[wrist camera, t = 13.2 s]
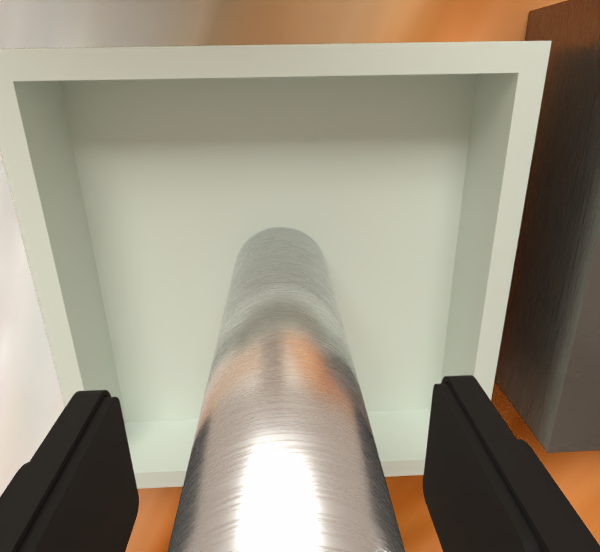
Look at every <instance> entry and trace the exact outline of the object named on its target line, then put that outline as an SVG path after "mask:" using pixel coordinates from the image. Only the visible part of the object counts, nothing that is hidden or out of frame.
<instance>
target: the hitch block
mask: <svg viewBox="0 0 600 552" xmlns="http://www.w3.org/2000/svg"><path fill="white" fill-rule="evenodd" d="M525 41H552V42H551V48H550V54H549V60H548V66H547V72H546V78H545V83H544V89H543V95H542V101H541V107H540V113H539V119H538V125H537V131H536V137H535V143H534V149H533V155H532V161H531V166H530V172H529V178H528V184H527V190H526V196H525V202H524V208H523V214H522V220H521V226H520V232H519V238H518V243H517V249H516V255H515V261H514V267H513V273H512V279H511V285H510V291H509V297H508V303H507V309H506V315H505V321H504V326H503V332H502V338H501V344H500V350H499V356H498V362H497V368H496V374H495V380H494V381H495V382H496V383H497V385H498V386H499V387H500V389H501V390H502V392H503V393H504V394H505V396H506V397H507V398H508V400H509V401H510V402H511V404H512V405H513V407H514V408H515V409H516V411H517V412H518V413H519V415H520V416H521V417H522V419H523V420H524V422H525V423H526V424H527V426H528V427H529V428H530V430H531V431H532V433H533V434H534V435H535V437H536V438H537V439H538V441H539V442H540V443H541V445H542V446H543V448H544V449H545V450H546V452H547V453H553V452H574V451H595V450H600V0H568V1H564V2H561V3H557V4H554V5H550V6H547V7H543V8H540V9H536V10H533V11H530V12H529V19H528V25H527V32H526V39H525Z"/></svg>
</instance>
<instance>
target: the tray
mask: <svg viewBox="0 0 600 552" xmlns="http://www.w3.org/2000/svg"><path fill="white" fill-rule="evenodd" d="M551 42H552V41H496V42H427V43H359V44H291V45H222V46H154V47H86V48H17V49H0V152H1V156H2V160H3V164H4V168H5V172H6V176H7V180H8V184H9V188H10V192H11V196H12V200H13V204H14V207H15V211H16V215H17V219H18V223H19V227H20V231H21V235H22V239H23V243H24V247H25V251H26V255H27V259H28V263H29V267H30V271H31V275H32V279H33V282H34V286H35V290H36V294H37V298H38V302H39V306H40V310H41V314H42V318H43V322H44V326H45V330H46V334H47V338H48V342H49V346H50V350H51V354H52V357H53V361H54V365H55V369H56V373H57V377H58V381H59V385H60V389H61V393H62V397H63V401H64V405H65V407H66V406H67V404H68V402H69V401H70V399H71V398H72V396H73V395H74V394H75V393H76V392H77V391H89V390H107V391H109V393H110V395H111V397H118V399H119V401H120V404H121V409H122V414H123V420H124V425H125V430H126V435H127V440H128V445H129V450H130V455H131V460H132V465H133V470H134V475H135V480H136V485H137V489H140V488H161V487H181V486H183V484H184V480H185V476H186V471H187V467H188V463H189V459H190V454H191V450H192V446H193V442H194V437H195V433H196V429H197V425H198V420H199V416H200V412H201V407H202V403H203V399H204V395H205V390H206V386H207V382H208V378H209V373H210V369H211V365H212V361H213V356H214V352H215V348H216V344H217V339H218V335H219V331H220V327H221V322H222V318H223V314H224V309H225V305H226V301H227V297H228V292H229V288H230V284H231V280H232V275H233V271H234V267H235V263H236V259H237V256H238V253H239V251H240V249H241V248H242V246H243V245H244V244H245V243H246V241H247V240H249V239H250V238H251V237H252V236H254V235H255V234H257V233H259V232H261V231H263V230H266V229H269V228H275V227H287V228H293V229H296V230H299V231H301V232H303V233H305V234H307V235H308V236H309V237H311V238H312V239H313V240H314V241H315V242H316V243H317V244H318V246H319V247H320V248H321V250H322V252H323V254H324V257H325V260H326V264H327V268H328V271H329V275H330V279H331V282H332V286H333V290H334V293H335V297H336V301H337V304H338V308H339V312H340V315H341V319H342V323H343V326H344V330H345V334H346V337H347V341H348V345H349V348H350V352H351V356H352V359H353V363H354V367H355V370H356V374H357V378H358V381H359V385H360V389H361V392H362V396H363V400H364V403H365V407H366V411H367V414H368V418H369V422H370V425H371V429H372V433H373V436H374V440H375V444H376V447H377V451H378V455H379V458H380V462H381V466H382V469H383V473H384V477H390V476H410V475H424V466H425V457H426V448H427V439H428V430H429V421H430V412H431V403H432V394H433V387H434V385H435V384H440V383H441V382H442V379H443V377H445V376H460V375H472V376H474V377H475V378H476V380H477V381H478V382H479V384H480V385H481V387H482V388H483V390H484V391H485V393H486V394H487V396H488V397H489V399H490V400H491V398H492V392H493V386H494V380H495V374H496V368H497V362H498V356H499V350H500V344H501V338H502V332H503V326H504V321H505V315H506V309H507V303H508V297H509V291H510V285H511V279H512V273H513V267H514V261H515V255H516V249H517V243H518V238H519V232H520V226H521V220H522V214H523V208H524V202H525V196H526V190H527V184H528V178H529V172H530V166H531V161H532V155H533V149H534V143H535V137H536V131H537V125H538V119H539V113H540V107H541V101H542V95H543V89H544V83H545V78H546V72H547V66H548V60H549V54H550V48H551Z"/></svg>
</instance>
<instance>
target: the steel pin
mask: <svg viewBox="0 0 600 552" xmlns="http://www.w3.org/2000/svg"><path fill="white" fill-rule="evenodd" d="M168 552H405V550H404V546H403V543H402V539H401V535H400V532H399V528H398V524H397V521H396V517H395V513H394V510H393V506H392V502H391V499H390V495H389V491H388V488H387V484H386V480H385V477H384V473H383V469H382V466H381V462H380V458H379V455H378V451H377V447H376V444H375V440H374V436H373V433H372V429H371V425H370V422H369V418H368V414H367V411H366V407H365V403H364V400H363V396H362V392H361V389H360V385H359V381H358V378H357V374H356V370H355V367H354V363H353V359H352V356H351V352H350V348H349V345H348V341H347V337H346V334H345V330H344V326H343V323H342V319H341V315H340V312H339V308H338V304H337V301H336V297H335V293H334V290H333V286H332V282H331V279H330V275H329V271H328V268H327V264H326V260H325V257H324V254H323V252H322V250H321V248H320V247H319V246H318V244H317V243H316V242H315V241H314V240H313V239H312V238H311V237H309V236H308V235H307V234H305V233H303V232H301V231H299V230H296V229H293V228H287V227H275V228H269V229H266V230H263V231H261V232H259V233H257V234H255V235H254V236H252V237H251V238H250V239H249V240H247V241H246V243H245V244H244V245H243V246H242V248H241V249H240V251H239V253H238V256H237V259H236V263H235V267H234V271H233V275H232V280H231V284H230V288H229V292H228V297H227V301H226V305H225V309H224V314H223V318H222V322H221V327H220V331H219V335H218V339H217V344H216V348H215V352H214V356H213V361H212V365H211V369H210V373H209V378H208V382H207V386H206V390H205V395H204V399H203V403H202V407H201V412H200V416H199V420H198V425H197V429H196V433H195V437H194V442H193V446H192V450H191V454H190V459H189V463H188V467H187V471H186V476H185V480H184V484H183V488H182V493H181V497H180V501H179V505H178V510H177V514H176V518H175V523H174V527H173V531H172V535H171V540H170V544H169V548H168Z"/></svg>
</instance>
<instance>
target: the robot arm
mask: <svg viewBox="0 0 600 552" xmlns="http://www.w3.org/2000/svg"><path fill="white" fill-rule="evenodd" d="M423 492H424V498H425V501H426V504H427V507H428V510H429V512H430V515H431V518H432V521H433V524H434V527H435V529H436V532H437V535H438V538H439V541H440V543H441V546H442V549H443V552H600V546H599V544H598V543H597V541H596V540H595V538H594V537H593V536H592V534H591V533H590V531H589V530H588V528H587V527H586V525H585V524H584V523H583V521H582V520H581V518H580V517H579V515H578V514H577V513H576V511H575V510H574V508H573V507H572V505H571V504H570V503H569V501H568V500H567V498H566V497H565V495H564V494H563V493H562V491H561V490H560V488H559V487H558V485H557V484H556V483H555V481H554V480H553V478H552V477H551V475H550V474H549V473H548V471H547V470H546V468H545V467H544V465H543V464H542V462H541V461H540V460H539V458H538V457H537V455H536V454H535V452H534V451H533V450H532V448H531V447H530V446H529V445H528V444H527V443H526V442H525V441H523V440H521V439H520V440H517V439H516V437H515V436H514V434H513V433H512V431H511V430H510V428H509V427H508V425H507V424H506V423H505V421H504V420H503V418H502V417H501V415H500V414H499V412H498V411H497V409H496V408H495V406H494V405H493V403H492V402H491V400H490V399H489V397H488V396H487V394H486V393H485V391H484V390H483V388H482V387H481V385H480V384H479V382H478V381H477V380H476V378H475V377H474V376H472V375H460V376H445V377H443V379H442V382H441V383H440V384H435V385H434V387H433V394H432V403H431V412H430V421H429V430H428V439H427V448H426V457H425V466H424V476H423ZM138 506H139V496H138V490H137V485H136V480H135V475H134V470H133V465H132V460H131V455H130V450H129V445H128V440H127V435H126V430H125V425H124V420H123V414H122V409H121V404H120V401H119V399H118V397H111V395H110V393H109V391H107V390H89V391H77V392H76V393H75V394H74V395H73V396H72V398H71V399H70V401H69V402H68V404H67V406H66V407H65V409H64V410H63V412H62V413H61V415H60V416H59V418H58V419H57V421H56V422H55V424H54V425H53V427H52V428H51V430H50V431H49V433H48V435H47V436H46V438H45V439H44V441H43V442H42V444H41V445H40V447H39V448H38V450H37V451H36V453H35V454H34V456H33V457H32V459H31V460H30V462H28V463H26V464H24V465H23V466H22V467H21V468H20V469H19V470H18V472H17V473H16V474H15V476H14V477H13V479H12V480H11V482H10V483H9V485H8V486H7V488H6V489H5V491H4V492H3V494H2V495H1V497H0V552H125V550H126V547H127V544H128V541H129V538H130V535H131V532H132V529H133V526H134V523H135V520H136V517H137V513H138Z"/></svg>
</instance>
